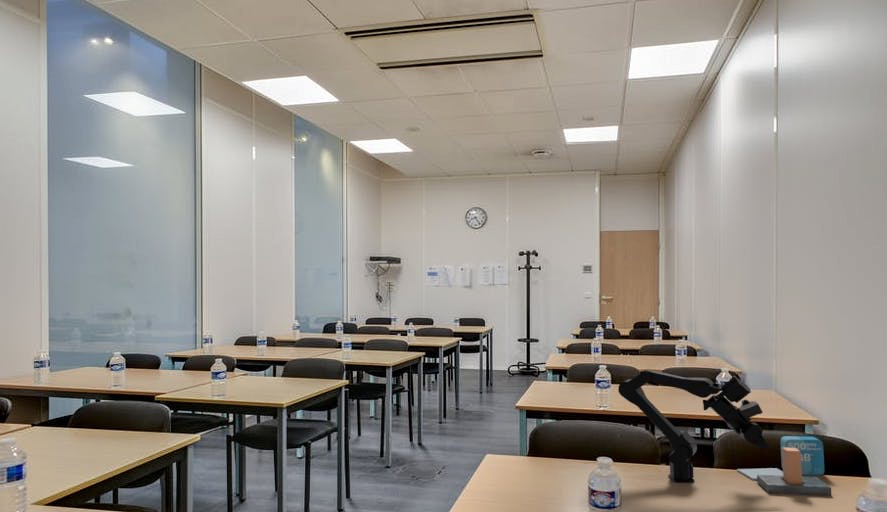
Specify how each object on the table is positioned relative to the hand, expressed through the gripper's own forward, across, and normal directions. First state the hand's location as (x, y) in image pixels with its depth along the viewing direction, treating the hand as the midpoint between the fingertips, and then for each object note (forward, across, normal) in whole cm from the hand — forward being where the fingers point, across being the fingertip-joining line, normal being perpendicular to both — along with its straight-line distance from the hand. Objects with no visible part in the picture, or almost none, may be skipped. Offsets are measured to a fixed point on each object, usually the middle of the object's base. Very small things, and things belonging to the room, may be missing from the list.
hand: (764, 445), depth 188 cm
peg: (+15, 0, +4) cm, 15 cm away
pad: (+12, +13, +7) cm, 19 cm away
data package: (+22, +17, -3) cm, 28 cm away
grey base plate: (+15, 0, +4) cm, 15 cm away
